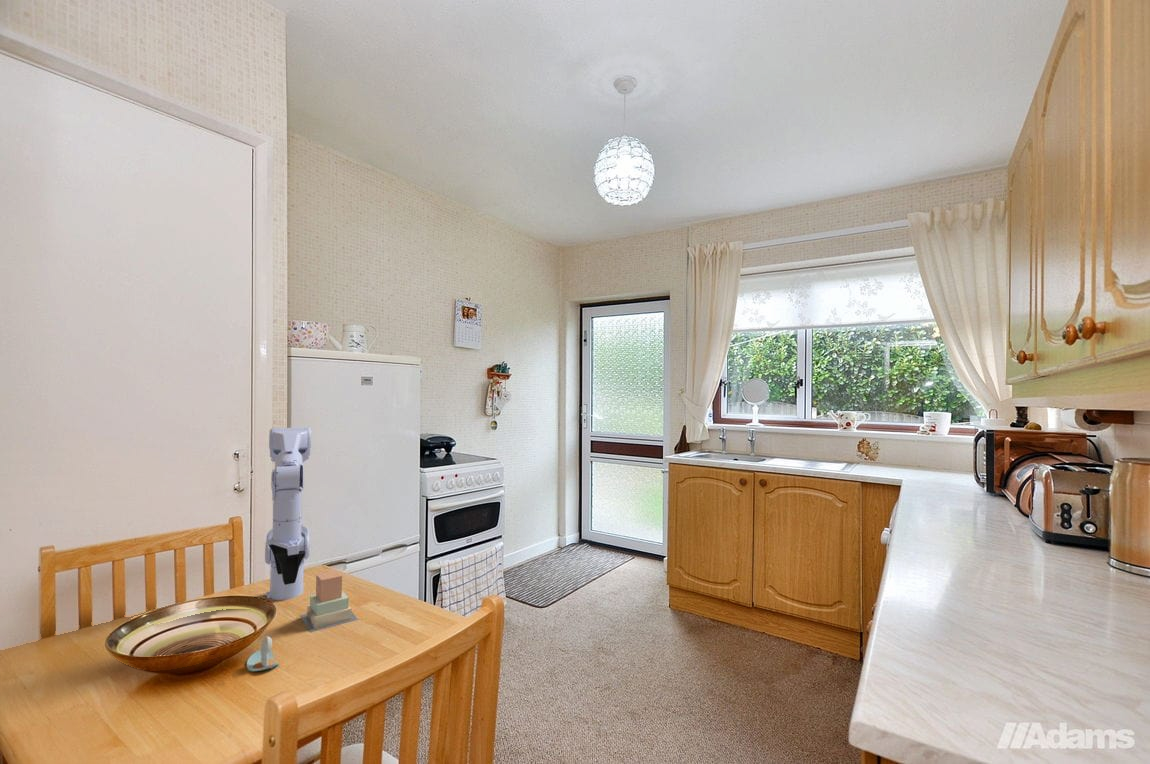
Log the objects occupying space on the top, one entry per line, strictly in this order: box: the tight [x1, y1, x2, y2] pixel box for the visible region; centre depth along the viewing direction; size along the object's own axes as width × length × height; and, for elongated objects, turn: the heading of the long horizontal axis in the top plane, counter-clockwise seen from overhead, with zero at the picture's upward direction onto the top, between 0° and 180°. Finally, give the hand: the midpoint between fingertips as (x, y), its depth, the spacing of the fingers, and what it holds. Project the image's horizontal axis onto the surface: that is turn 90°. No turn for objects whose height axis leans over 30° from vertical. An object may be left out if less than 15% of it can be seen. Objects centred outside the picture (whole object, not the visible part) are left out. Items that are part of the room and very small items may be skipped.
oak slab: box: [306, 604, 352, 628], centre depth 118 cm, size 8×8×2 cm
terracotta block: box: [315, 569, 343, 602], centre depth 118 cm, size 4×4×5 cm
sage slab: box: [309, 590, 349, 616], centre depth 118 cm, size 7×7×2 cm
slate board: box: [299, 610, 359, 633], centre depth 118 cm, size 10×10×1 cm
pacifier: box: [246, 636, 280, 672], centre depth 98 cm, size 7×6×6 cm
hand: (286, 578), depth 117 cm, fingers open, 7 cm apart
